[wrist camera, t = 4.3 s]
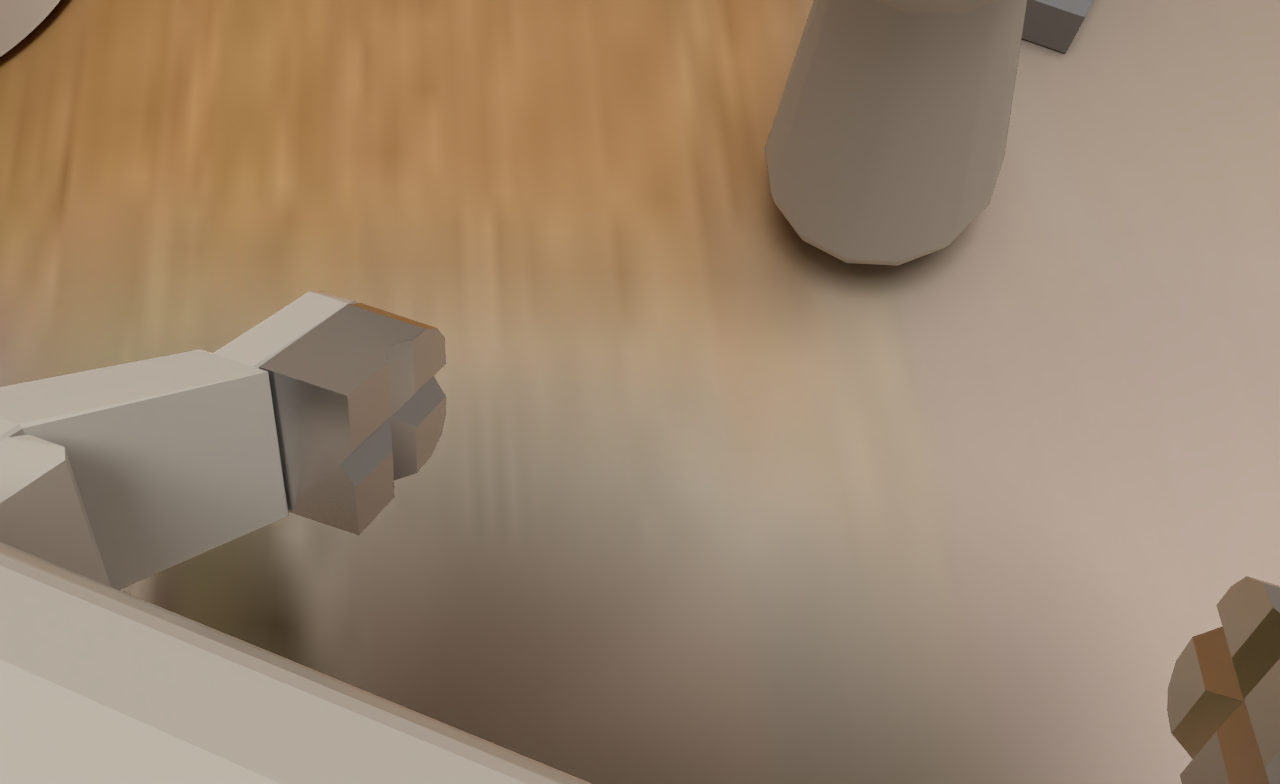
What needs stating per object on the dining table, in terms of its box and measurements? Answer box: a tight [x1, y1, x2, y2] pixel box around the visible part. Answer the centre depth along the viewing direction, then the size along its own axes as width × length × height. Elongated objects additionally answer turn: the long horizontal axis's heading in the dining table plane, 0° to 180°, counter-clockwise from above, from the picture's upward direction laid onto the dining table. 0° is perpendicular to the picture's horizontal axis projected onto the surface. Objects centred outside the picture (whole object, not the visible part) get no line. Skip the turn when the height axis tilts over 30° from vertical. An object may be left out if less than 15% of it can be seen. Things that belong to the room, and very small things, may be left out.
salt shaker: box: [765, 0, 1027, 266], centre depth 18 cm, size 6×6×13 cm
